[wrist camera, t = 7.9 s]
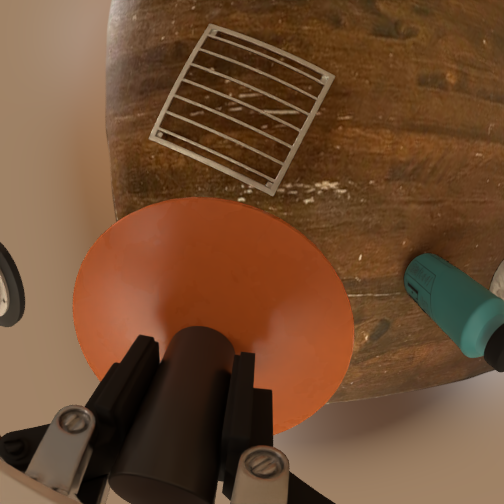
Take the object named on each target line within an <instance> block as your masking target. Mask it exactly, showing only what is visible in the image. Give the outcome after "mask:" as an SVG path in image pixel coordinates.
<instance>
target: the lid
mask: <svg viewBox="0 0 504 504" xmlns="http://www.w3.org/2000/svg"><path fill="white" fill-rule="evenodd" d="M73 318H74V325H75V330H76V334H77V338H78V341H79V344H80V346H81V349H82V351H83V354H84V356H85V358H86V360H87V362H88V364H89V366H90V367H91V369H92V370H93V372H94V373H95V375H96V376H97V378H98V379H99V380H100V382H101V381H102V379H103V378H104V376H105V375H106V373H107V372H108V370H109V369H110V367H111V366H112V365H113V363H115V362H117V363H120V362H121V361H122V359H123V358H124V356H125V355H126V353H127V352H128V350H129V349H130V347H131V346H132V344H133V343H134V341H135V340H136V338H137V336H138V335H140V334H141V335H145V336H150V337H154V339H155V341H156V342H158V343H159V356H160V364H159V366H158V368H157V370H156V372H155V375H154V377H153V379H152V381H151V383H150V385H149V387H148V389H147V391H146V394H145V396H144V398H143V400H142V402H141V404H140V406H139V409H138V411H137V413H136V415H135V417H134V420H133V422H132V424H131V426H130V428H129V431H128V433H127V435H126V437H125V439H124V442H123V444H122V446H121V448H120V451H119V453H118V455H117V458H116V460H115V462H114V464H113V467H112V469H111V471H110V474H109V476H108V483H109V486H110V487H111V489H112V490H113V491H114V492H115V493H116V494H117V495H119V496H120V497H121V498H123V499H124V500H126V501H127V502H129V503H131V504H215V497H216V490H217V483H218V476H219V470H220V448H221V438H222V430H223V424H224V417H225V411H226V405H227V398H228V392H229V385H230V379H231V373H232V366H233V360H234V355H240V353H241V352H249V353H255V369H254V386H253V388H260V389H270V390H272V394H273V435H275V434H278V433H280V432H283V431H286V430H288V429H290V428H292V427H294V426H296V425H298V424H300V423H301V422H303V421H304V420H306V419H307V418H309V417H310V416H312V415H313V414H314V413H315V412H317V411H318V410H319V409H320V408H321V407H322V406H323V405H324V404H325V403H326V402H327V401H328V400H329V399H330V398H331V397H332V395H333V394H334V393H335V391H336V390H337V388H338V387H339V385H340V384H341V382H342V380H343V378H344V376H345V374H346V372H347V369H348V367H349V363H350V360H351V356H352V353H353V345H354V319H353V314H352V309H351V305H350V301H349V298H348V296H347V293H346V291H345V288H344V286H343V284H342V282H341V280H340V279H339V277H338V275H337V273H336V272H335V270H334V268H333V267H332V265H331V263H330V262H329V261H328V260H327V258H326V257H325V256H324V255H323V254H322V252H321V251H320V250H319V249H318V248H317V246H316V245H314V244H313V243H312V242H311V241H310V240H309V239H308V238H307V237H306V236H304V235H303V234H302V233H301V232H300V231H298V230H297V229H295V228H294V227H292V226H291V225H289V224H288V223H286V222H285V221H283V220H282V219H280V218H278V217H276V216H274V215H272V214H270V213H268V212H266V211H264V210H262V209H259V208H256V207H253V206H250V205H247V204H244V203H241V202H237V201H231V200H226V199H220V198H210V197H187V198H177V199H170V200H166V201H162V202H158V203H155V204H151V205H149V206H146V207H144V208H142V209H139V210H137V211H135V212H133V213H130V214H128V215H127V216H125V217H124V218H122V219H121V220H119V221H117V222H116V223H114V224H113V225H112V226H111V227H110V228H108V229H107V230H106V231H105V232H104V233H103V234H102V235H101V236H100V237H99V238H98V239H97V241H96V242H95V243H94V244H93V246H92V247H91V248H90V249H89V251H88V253H87V255H86V257H85V258H84V260H83V262H82V264H81V267H80V269H79V272H78V275H77V278H76V283H75V287H74V293H73Z"/></svg>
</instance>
